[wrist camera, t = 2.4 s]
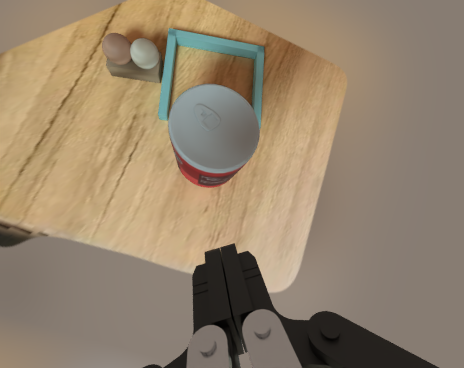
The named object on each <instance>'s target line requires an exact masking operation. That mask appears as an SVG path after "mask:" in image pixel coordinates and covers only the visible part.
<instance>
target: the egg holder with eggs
mask: <svg viewBox="0 0 464 368" xmlns="http://www.w3.org/2000/svg"><path fill="white" fill-rule="evenodd" d="M102 48H103V52H104V54H105V56H106V57H107V63H106V66H107V68H108V70H109V72H110V73H111V75H112V76H117V77H124V78H130V79H136V80H143V81H149V82H155V83H160V82H161V74H162V66H163V61H162V55H161V52H158V49H157V47H156V46H155V44H154V43H153V42H152V41H150V40H148V39H145V38H139V39H136V40H135V41H134V42H133V43H132V45H131V43H130V42H129V40H128V39H127V38H126V37H124V36H123V35H121V34H118V33H111V34H108V35H107V36H106V37H105V38H104V40H103V43H102Z"/></svg>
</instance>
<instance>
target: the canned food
mask: <svg viewBox="0 0 464 368" xmlns="http://www.w3.org/2000/svg"><path fill="white" fill-rule="evenodd" d="M168 127H169V135H170V140H171V143H172V146H173V150H174V153H175V157H176V160H177V163H178V167H179V169H180V171H181V172H182V174H183V175H184V176H185V177H186V178H187V179H188V180H189V181H190V182H192V183H194V184H196V185H198V186H201V187H208V188H209V187H217V186H220V185H222V184H224V183H226V182H227V181H228V180H230V179H231V178H232V177H233V176H234V175H235V174H236V173H237V172H238V171H239V170H240V169H241V168H242V167H243V166H244V165H245V164H246V163H247V162H248V160H249V159H250V158H251V157H252V155H253V154H254V152H255V150H256V148H257V145H258V141H259V133H260V129H259V122H258V119H257V116H256V114H255V112H254V110H253V108H252V106H251V105H250V104H249V103H248V101H247V100H246V99H245V98H244V97H242V96H241V95H240V94H239V93H237V92H236V91H234V90H232V89H230V88H228V87H225V86H222V85H217V84H202V85H197V86H194V87H192V88H189V89H188V90H186V91H185V92H183V93H182V94H181V95H180V96H179V97H178V98H177V99H176V101H175V102H174V104H173V105H172V108H171V111H170V114H169V122H168Z"/></svg>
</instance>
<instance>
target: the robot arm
mask: <svg viewBox="0 0 464 368" xmlns="http://www.w3.org/2000/svg"><path fill="white" fill-rule="evenodd" d="M220 249H221V251H220ZM205 262H206V263H205V264H202V265H198V266H196V268H195V271H194V273H193V277H192V278H193V279H192V280H193V320H194V321H193V322H194V332H193V336H192V338H191V340H190V342H189V345H188V347H187V349H186V350H185V351H184V352H183V353H182V354H181V355H180V356H179V357H178V358H176V359H175V360H174V361H172V362H171V363H170V364H168V365H167V366H165V367H164V368H241V367H240V362H239V356H238V355H240V354H244V352H243V347H244V349H245V352H248V354H249V358H250V361H251V365H252V368H439V367H437V366H435V365H433V364H431V363H429V362H427V361H425V360H423V359H421V358H419V357H418V356H416V355H414V354H412V353H410V352H408V351H406V350H404V349H402V348H400V347H399V346H397V345H395V344H393V343H391V342H389V341H387V340H385V339H383V338H381V337H380V336H378V335H376V334H374V333H372V332H370V331H368V330H366V329H364V328H363V327H361V326H359V325H357V324H355V323H353V322H351V321H349V320H347V319H345V318H343V317H342V316H340V315H338V314H336V313H333V312H328V311H322V312H318V313H316V314H314V315H313V316H312V317H311V318H310V320H292V319H288V318H285V317H283V316H282V315H280V314H279V313H278V312H277V311H276V310H275V308H274V307H273V305H272V302H271V299H270V297H269V294H268V291H267V288H266V286H265V283H264V280H263V278H262V275H261V272H260V270H259V267H258V264H257V261H256V259H255V257H254V256H253V255H252V254H251V253H250V252H249V251H246V252H242V253H239V254H237V250H236V247H235V243H234V244H230V245H227V246H224V247H220V248H217V249H213V250H210V251H207V252H205ZM242 344H243V346H242ZM143 368H162V367H160V366H158V365H155V364H153V365H148V366H145V367H143Z"/></svg>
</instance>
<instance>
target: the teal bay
mask: <svg viewBox="0 0 464 368" xmlns="http://www.w3.org/2000/svg"><path fill="white" fill-rule="evenodd" d="M177 45H180V46H186V47H191V48H196V49H202V50H207V51H213V52H218V53H224V54H229V55H235V56H240V57H245V58H251V59H254V74H253V91H252V108H253V110H254V112H255V114H256V116H257V119H258V122H259V129H260V125H261V106H262V86H263V67H264V47H263V46H258V45H253V44H248V43H243V42H238V41H232V40H227V39H222V38H217V37H212V36H207V35H201V34H196V33H191V32H186V31H181V30H176V29H171V28H169V31H168V39H167V47H166V55H165V63H164V71H163V79H162V87H161V95H160V103H159V111H158V116H159V119H160V120H168V114H169V106H170V97H171V89H172V80H173V72H174V63H175V55H176V46H177Z"/></svg>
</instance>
